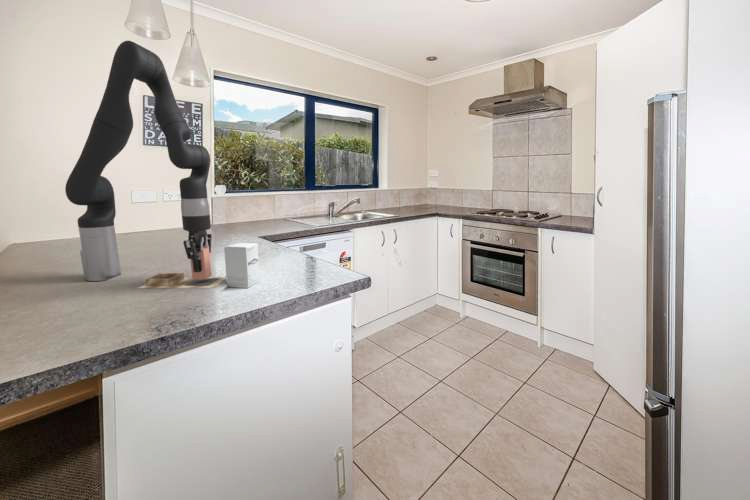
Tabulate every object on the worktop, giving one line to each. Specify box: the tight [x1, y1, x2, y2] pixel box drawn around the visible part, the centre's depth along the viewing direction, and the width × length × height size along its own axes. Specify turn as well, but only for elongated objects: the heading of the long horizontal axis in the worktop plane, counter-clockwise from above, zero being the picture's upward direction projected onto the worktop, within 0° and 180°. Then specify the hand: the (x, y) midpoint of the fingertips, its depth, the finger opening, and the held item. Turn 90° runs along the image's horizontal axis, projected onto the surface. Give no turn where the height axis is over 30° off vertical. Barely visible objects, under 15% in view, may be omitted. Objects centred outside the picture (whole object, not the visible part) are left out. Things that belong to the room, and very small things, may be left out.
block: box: [190, 247, 212, 279], centre depth 110 cm, size 4×4×9 cm
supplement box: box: [223, 242, 261, 289], centre depth 111 cm, size 7×7×13 cm
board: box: [137, 272, 227, 289], centre depth 111 cm, size 22×11×3 cm, turn 92°
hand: (201, 269), depth 110 cm, fingers closed on block, 4 cm apart
